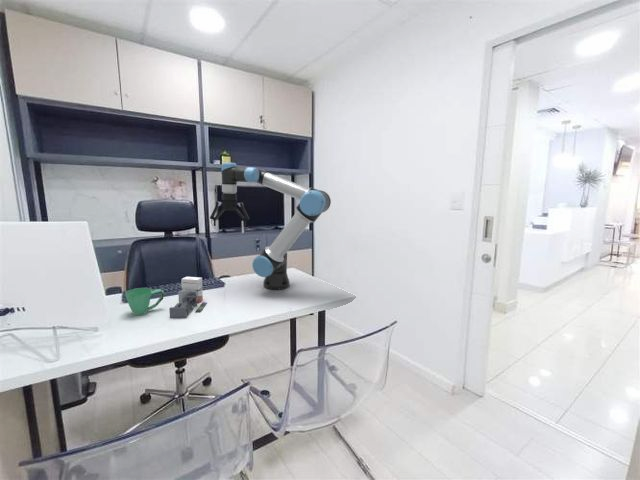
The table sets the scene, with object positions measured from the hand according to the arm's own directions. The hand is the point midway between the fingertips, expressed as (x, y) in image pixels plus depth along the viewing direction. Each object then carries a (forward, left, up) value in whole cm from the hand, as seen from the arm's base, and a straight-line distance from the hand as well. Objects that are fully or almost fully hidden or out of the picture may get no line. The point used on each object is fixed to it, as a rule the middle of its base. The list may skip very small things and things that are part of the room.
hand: (230, 232), depth 161 cm
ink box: (+15, +18, -32) cm, 40 cm away
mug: (+31, +31, -32) cm, 54 cm away
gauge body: (+13, +29, -32) cm, 45 cm away
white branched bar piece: (+14, +28, -31) cm, 44 cm away
